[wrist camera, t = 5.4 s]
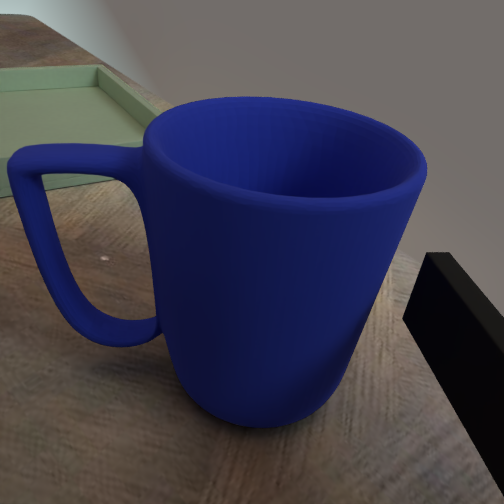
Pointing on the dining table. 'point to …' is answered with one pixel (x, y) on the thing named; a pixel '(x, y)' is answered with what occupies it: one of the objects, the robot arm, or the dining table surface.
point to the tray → (68, 114)
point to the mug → (244, 243)
